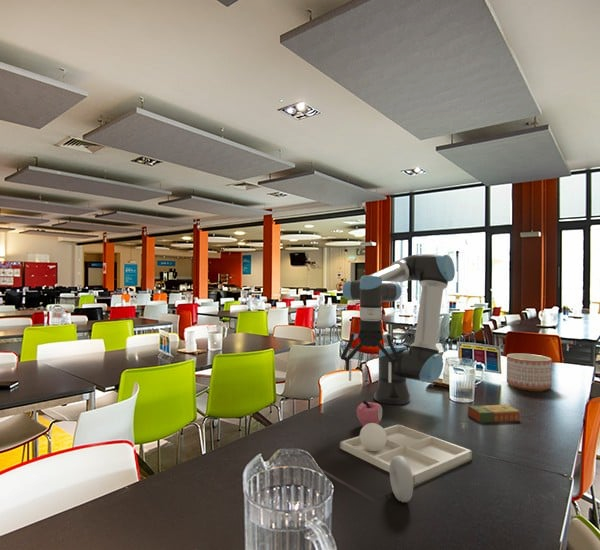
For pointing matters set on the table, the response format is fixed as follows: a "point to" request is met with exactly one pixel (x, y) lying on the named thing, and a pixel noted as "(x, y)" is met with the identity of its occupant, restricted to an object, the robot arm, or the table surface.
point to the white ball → (373, 437)
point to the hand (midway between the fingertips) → (369, 381)
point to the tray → (411, 452)
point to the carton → (493, 413)
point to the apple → (369, 413)
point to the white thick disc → (401, 478)
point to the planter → (529, 372)
